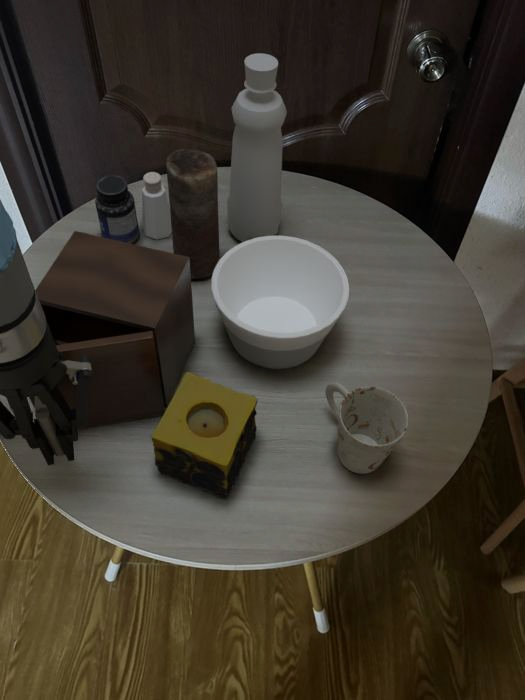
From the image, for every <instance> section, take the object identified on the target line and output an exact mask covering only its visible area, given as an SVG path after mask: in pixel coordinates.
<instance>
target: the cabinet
mask: <svg viewBox="0 0 525 700" xmlns="http://www.w3.org/2000/svg"><path fill="white" fill-rule="evenodd" d="M192 289H193V288H192V279H191V274H190V259H189V257H187V256H182V255H178V254H174V252H170V251H165V250H161V249H156V248H152V247H147V246H143V245H138V244H135V243H134V244H130V243H126V242H121V241H117V240H113V239H108V238H104V237H102V236H99V235H94V234H91V233H87V232H82V231H77V230H74V232H72V234H71V236H70V237H69V239H68V240H67V242H66V243H65V244H64V246H63V248H62V250H61V251H60V252H59V254H58V256H56V258H55V259H54V261H53V263H52V264H51V266H50V268H49V269H48V271H46V274H45V275H44V276H43V278H42V279H41V281H40V282H39V284H38V285H37V286H36V288H35V291H36V294H37V296H38V299H39V301H40V304H41V306H42V309H43V312H44V314H45V317H46V321H47V323H48V326H49V328H50V331H51V334H52V336H53V339H54V342H55V345H61V344H68V343H75V342H81V341H88V340H95V339H101V338H108V337H114V336H121V335H128V334H134V333H141V332H148V331H152V332H153V338H154V344H155V351H156V357H157V363H158V370H159V376H160V382H161V389H162V395H163V401H164V408H168V406H169V404H170V402H171V400H172V398H173V396H174V392H175V391H176V389H177V388H176V387H177V385H178V383H179V380H180V378H181V376H182V374H183V371H184V369H185V367H186V364H187V361H188V359H189V357H190V355H191V352H192V350H193V348H194V345H195V343H196V334H195V333H196V331H195V318H194V306H193V305H194V304H193V291H192Z"/></svg>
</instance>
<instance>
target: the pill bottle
mask: <svg viewBox="0 0 525 700" xmlns="http://www.w3.org/2000/svg"><path fill="white" fill-rule="evenodd" d="M127 182H128V181H126V179H125V178H124V177H122V176H119V175H115V174H111V175H105V176H103V177H101V178H100V179H99V180H98V181H97V182H96V193H97V194H96V196H95V199H94V205H95V209H96V213H97V218H98V223H99V228H100V232H101V237H104V238H108V239H113V240H117V241H121V242H126V243H130V244H134V245H135V243H137V241H138V239H139V236H140V229H139V224H138V217H137V209H136V202H135V198H134V195H133V193H132V192H131V191H130V190H129V187H128V183H127Z"/></svg>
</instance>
